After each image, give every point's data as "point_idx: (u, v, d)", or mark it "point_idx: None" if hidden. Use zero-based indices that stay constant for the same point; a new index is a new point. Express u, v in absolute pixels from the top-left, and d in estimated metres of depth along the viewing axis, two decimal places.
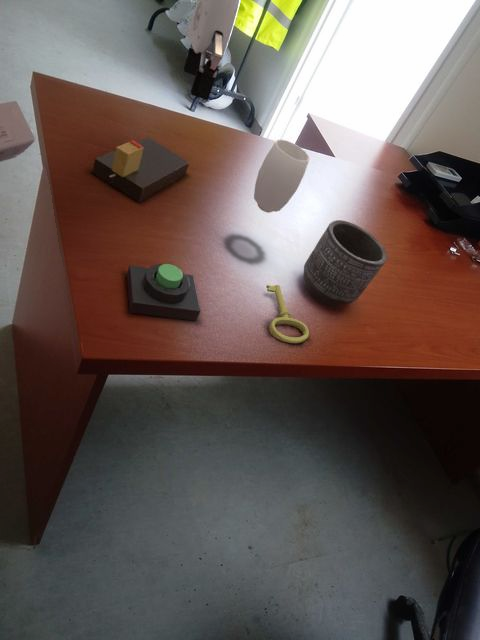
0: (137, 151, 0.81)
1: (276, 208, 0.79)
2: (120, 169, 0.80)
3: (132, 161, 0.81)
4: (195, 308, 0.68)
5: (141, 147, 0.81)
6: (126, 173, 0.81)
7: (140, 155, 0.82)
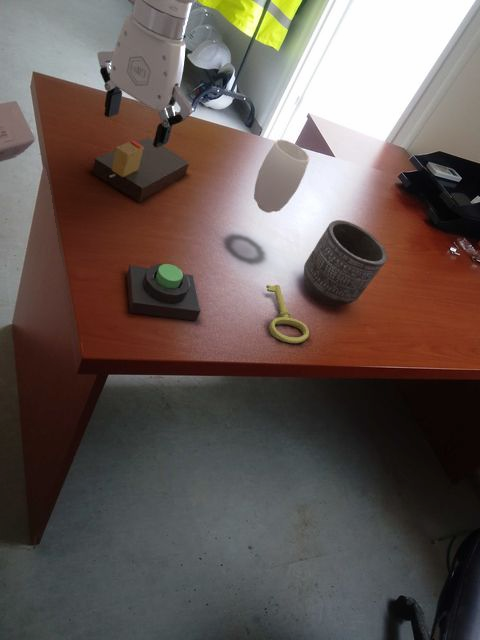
0: (137, 151, 0.81)
1: (276, 208, 0.79)
2: (120, 169, 0.80)
3: (132, 161, 0.81)
4: (195, 308, 0.68)
5: (141, 147, 0.81)
6: (126, 173, 0.81)
7: (140, 155, 0.82)
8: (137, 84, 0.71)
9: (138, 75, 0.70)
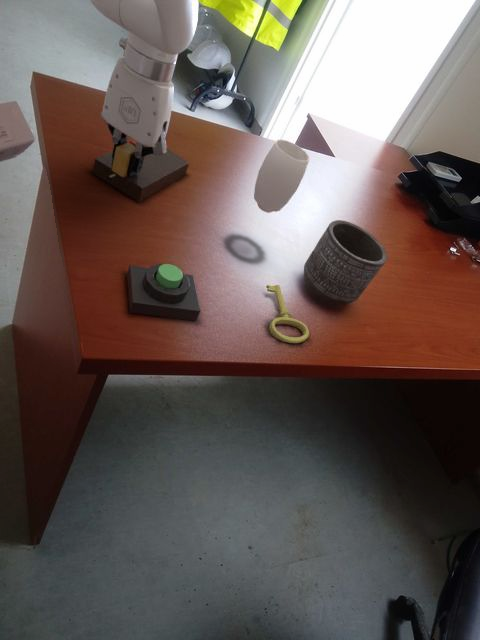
0: None
1: (276, 208, 0.79)
2: (120, 169, 0.80)
3: None
4: (195, 308, 0.68)
5: None
6: (126, 173, 0.81)
7: None
8: (128, 122, 0.74)
9: (129, 114, 0.74)
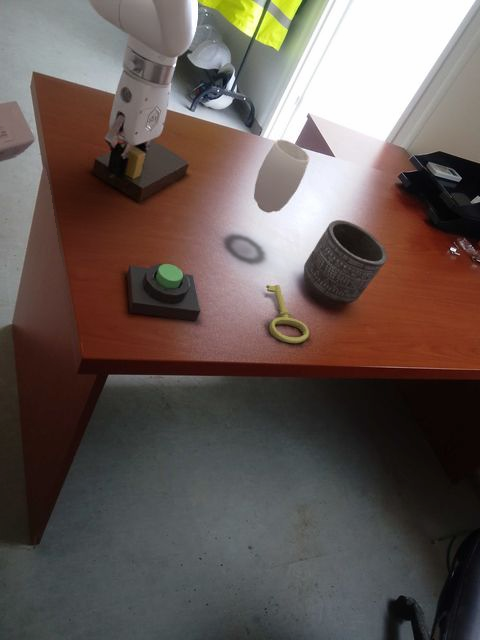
0: (131, 145, 0.81)
1: (276, 208, 0.79)
2: (139, 171, 0.83)
3: None
4: (195, 308, 0.68)
5: None
6: None
7: None
8: (151, 129, 0.77)
9: (152, 122, 0.76)
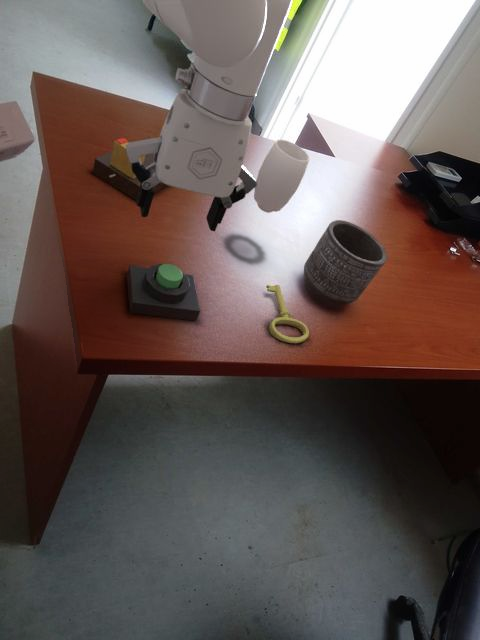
0: None
1: (276, 208, 0.79)
2: None
3: None
4: (195, 308, 0.68)
5: None
6: None
7: None
8: (201, 177, 0.56)
9: (203, 167, 0.55)
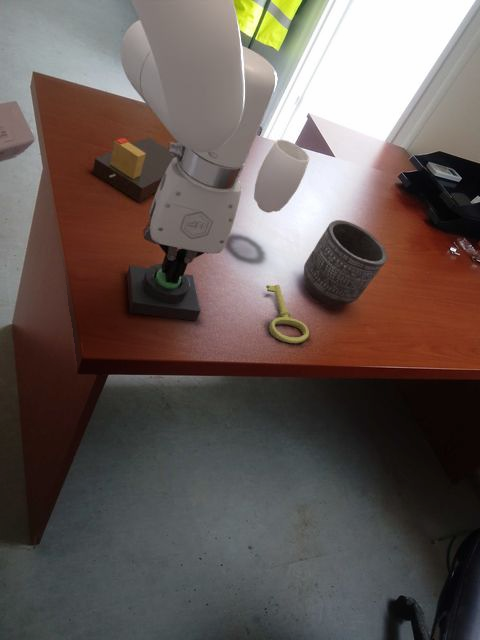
0: None
1: (276, 208, 0.79)
2: (139, 171, 0.83)
3: None
4: (195, 308, 0.68)
5: None
6: None
7: None
8: (193, 237, 0.59)
9: (195, 229, 0.58)
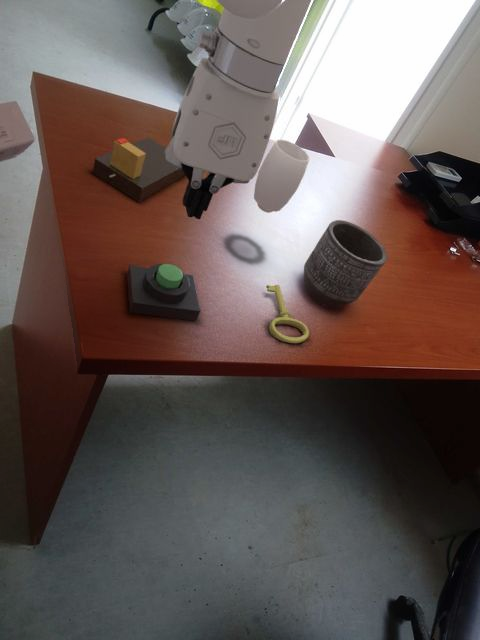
0: None
1: (276, 208, 0.79)
2: (139, 171, 0.83)
3: None
4: (195, 308, 0.68)
5: None
6: None
7: None
8: (222, 157, 0.51)
9: (225, 146, 0.50)
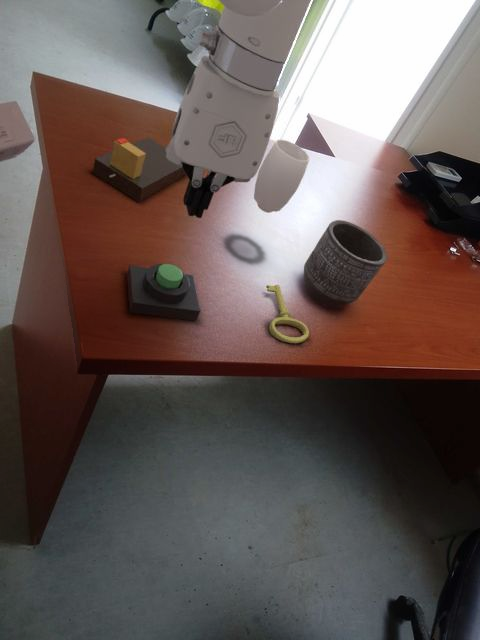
0: None
1: (276, 208, 0.79)
2: (139, 171, 0.83)
3: None
4: (195, 308, 0.68)
5: None
6: None
7: None
8: (223, 155, 0.51)
9: (226, 144, 0.50)
